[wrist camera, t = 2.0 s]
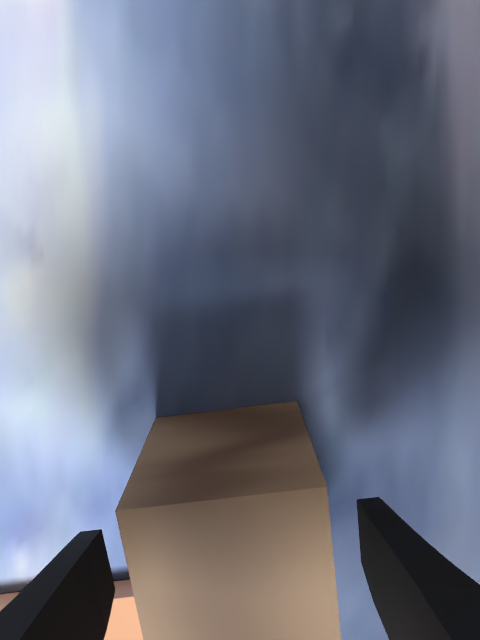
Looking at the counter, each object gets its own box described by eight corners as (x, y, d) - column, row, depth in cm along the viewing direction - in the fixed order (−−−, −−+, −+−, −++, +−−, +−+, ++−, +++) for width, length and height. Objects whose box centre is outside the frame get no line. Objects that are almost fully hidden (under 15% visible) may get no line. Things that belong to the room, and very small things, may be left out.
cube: (296, 399, 14) (327, 486, 10) (309, 522, 15) (342, 657, 11) (156, 416, 15) (115, 511, 10) (178, 537, 16) (151, 677, 11)
